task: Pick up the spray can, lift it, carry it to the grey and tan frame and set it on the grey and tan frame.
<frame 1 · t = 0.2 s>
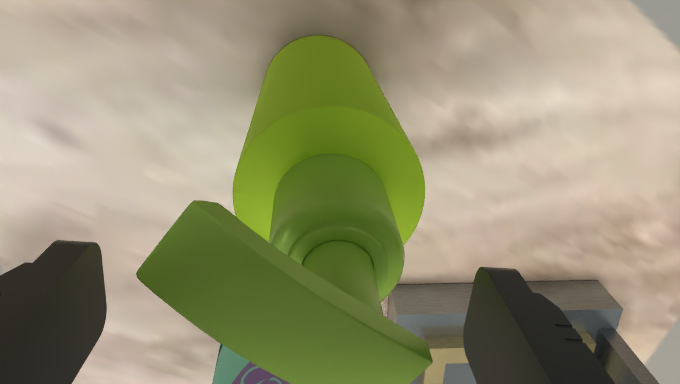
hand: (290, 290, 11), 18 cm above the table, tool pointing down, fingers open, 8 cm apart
grey and tan frame: (480, 363, 36), on the table
soap dispenser: (311, 84, 27), on the table
spray can: (267, 322, 34), on the table
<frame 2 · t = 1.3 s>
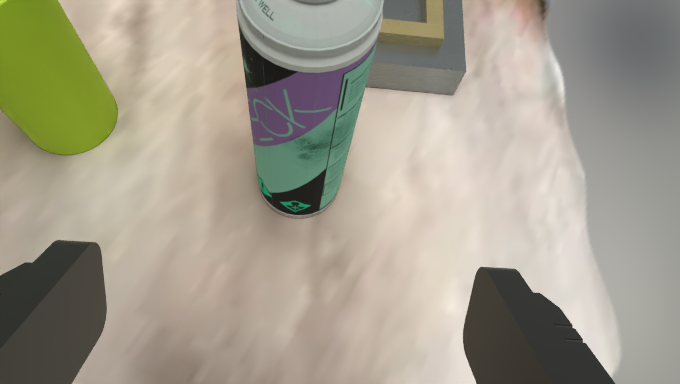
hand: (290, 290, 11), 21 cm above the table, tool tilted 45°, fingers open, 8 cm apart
grey and tan frame: (363, 11, 40), on the table
soap dispenser: (67, 122, 35), on the table
spray can: (299, 181, 35), on the table
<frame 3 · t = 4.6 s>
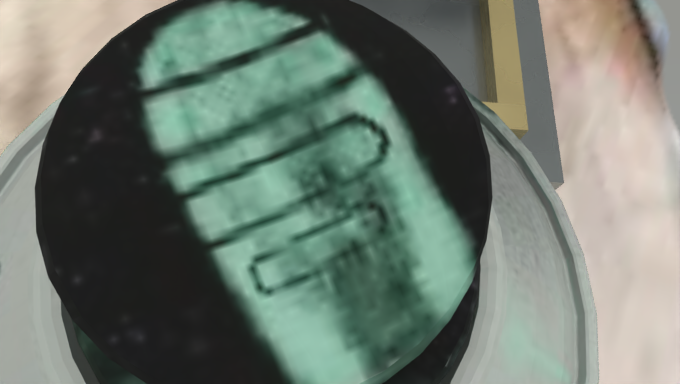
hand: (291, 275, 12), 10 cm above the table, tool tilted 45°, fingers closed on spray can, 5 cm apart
grey and tan frame: (386, 71, 26), on the table
spray can: (286, 377, 20), on the table, touching gripper
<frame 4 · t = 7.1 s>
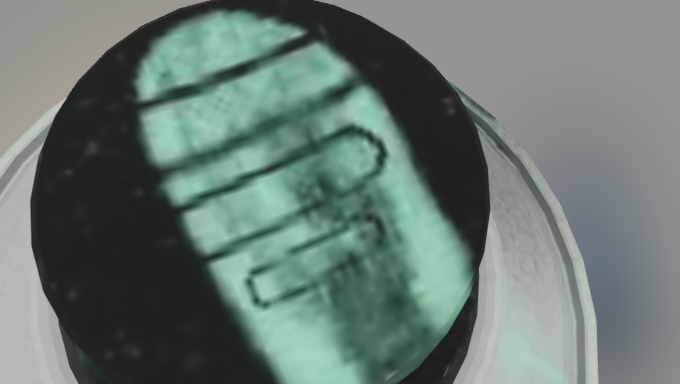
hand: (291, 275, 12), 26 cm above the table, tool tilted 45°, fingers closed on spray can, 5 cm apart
spray can: (286, 378, 20), point 16 cm above the table, touching gripper
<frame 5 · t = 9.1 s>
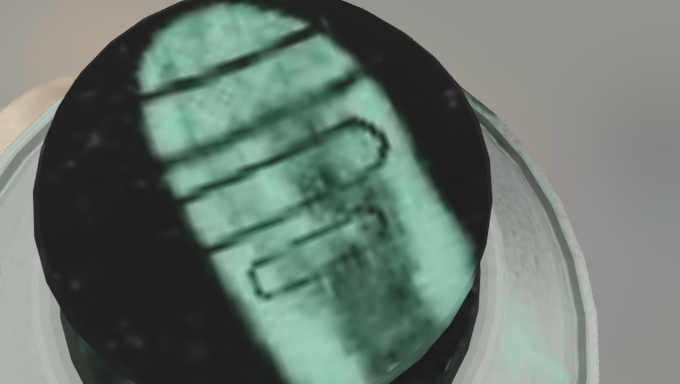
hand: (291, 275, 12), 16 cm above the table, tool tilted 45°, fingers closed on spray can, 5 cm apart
spray can: (286, 377, 20), point 6 cm above the table, touching gripper
when the fingers open (15 cm above the table, at t = 10.0 s): spray can drops 1 cm, resting on grey and tan frame.
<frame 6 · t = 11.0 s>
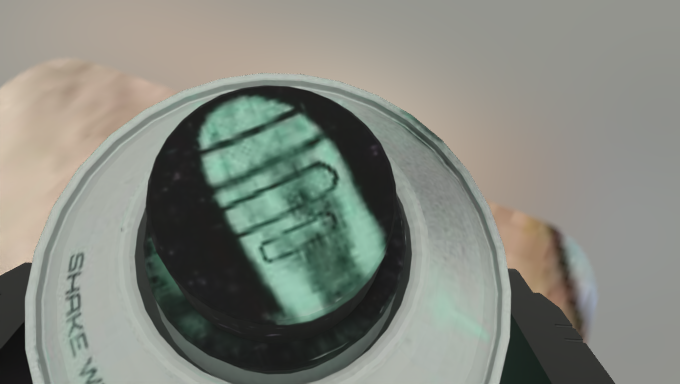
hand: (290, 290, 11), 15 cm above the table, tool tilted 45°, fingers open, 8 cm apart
spray can: (287, 369, 22), point 3 cm above the table, touching grey and tan frame
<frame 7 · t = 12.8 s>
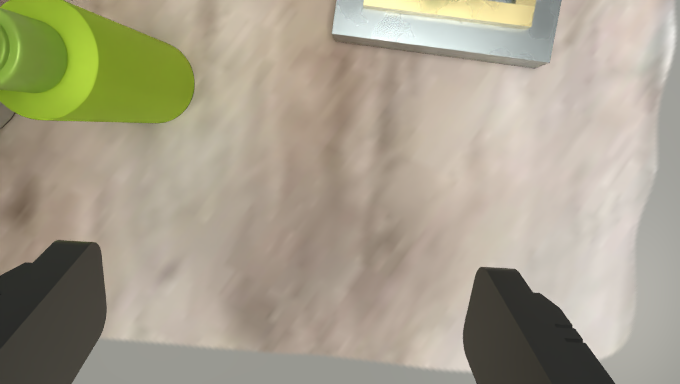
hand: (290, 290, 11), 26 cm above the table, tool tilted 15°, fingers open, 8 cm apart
soap dispenser: (151, 87, 37), on the table
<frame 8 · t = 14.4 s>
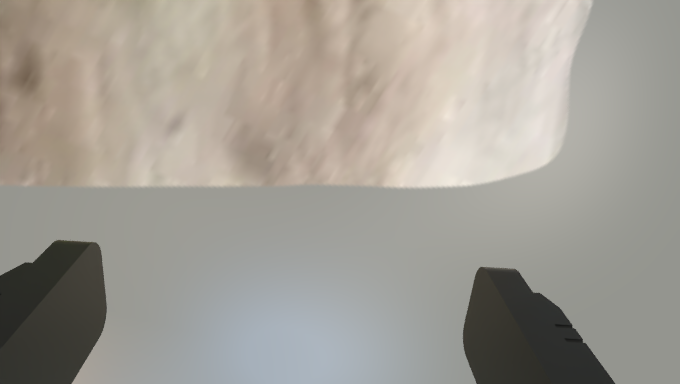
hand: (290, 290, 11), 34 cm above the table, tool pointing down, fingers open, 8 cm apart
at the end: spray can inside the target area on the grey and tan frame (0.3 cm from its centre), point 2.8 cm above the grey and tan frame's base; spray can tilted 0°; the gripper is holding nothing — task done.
